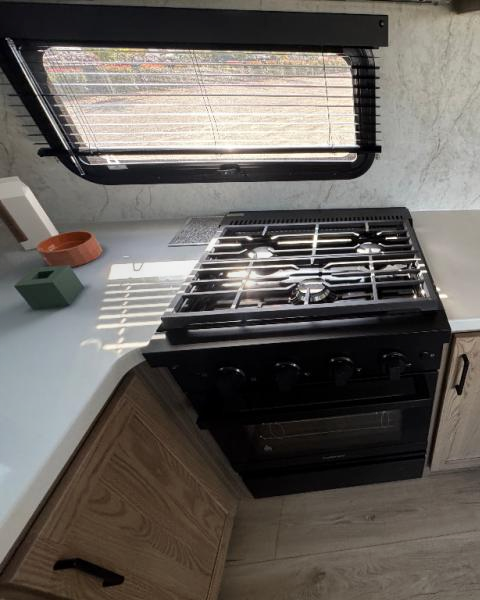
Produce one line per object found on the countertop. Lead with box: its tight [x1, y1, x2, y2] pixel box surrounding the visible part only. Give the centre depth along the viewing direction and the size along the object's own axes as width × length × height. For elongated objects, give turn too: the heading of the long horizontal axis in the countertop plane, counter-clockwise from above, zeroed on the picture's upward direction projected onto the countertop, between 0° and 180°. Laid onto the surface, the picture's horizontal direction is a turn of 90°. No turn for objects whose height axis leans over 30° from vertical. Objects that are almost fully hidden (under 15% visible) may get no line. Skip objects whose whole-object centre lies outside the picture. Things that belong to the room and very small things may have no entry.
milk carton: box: [0, 175, 60, 251], centre depth 96 cm, size 7×7×19 cm
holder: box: [13, 265, 85, 311], centre depth 79 cm, size 7×7×7 cm
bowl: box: [35, 230, 103, 268], centre depth 94 cm, size 12×12×6 cm
